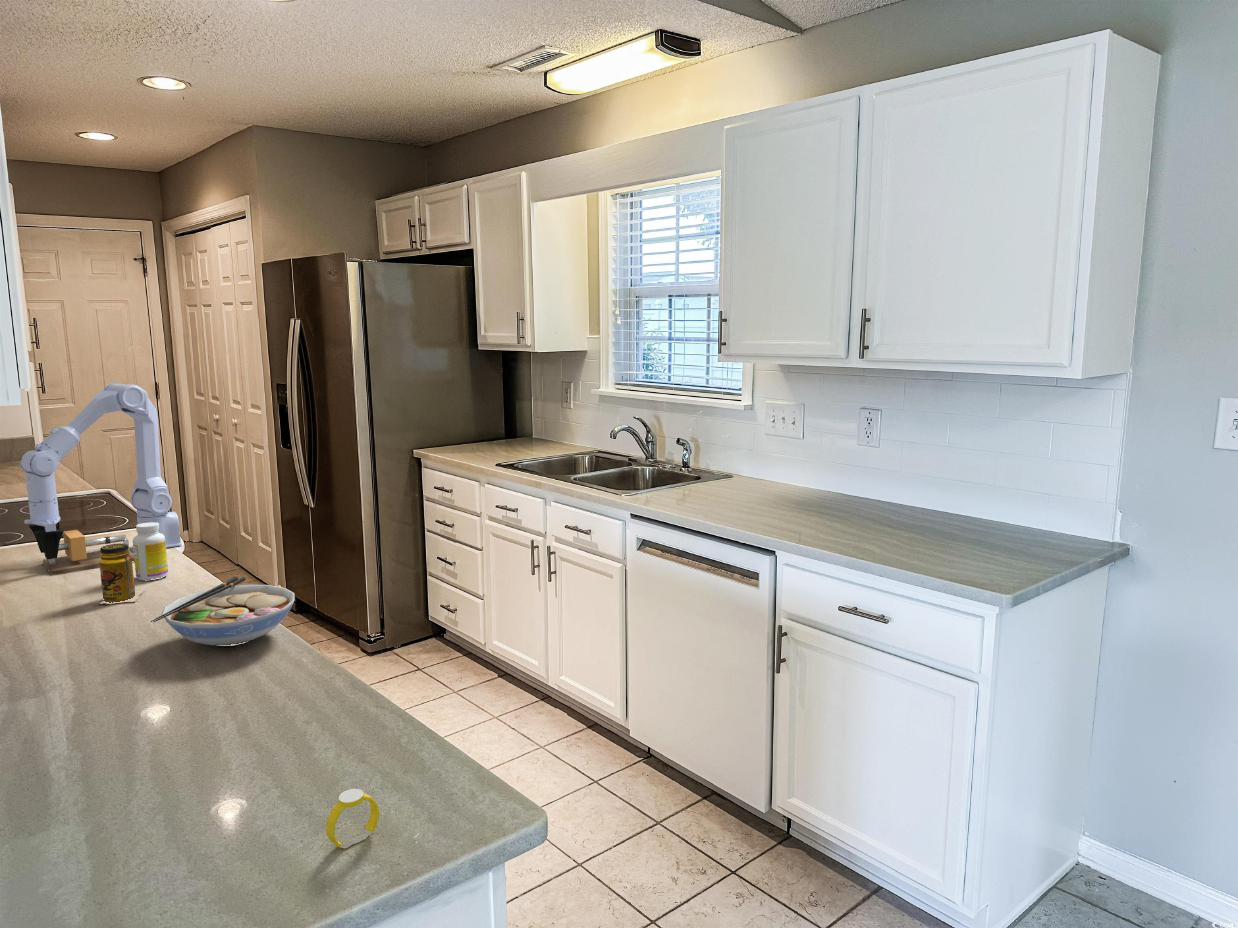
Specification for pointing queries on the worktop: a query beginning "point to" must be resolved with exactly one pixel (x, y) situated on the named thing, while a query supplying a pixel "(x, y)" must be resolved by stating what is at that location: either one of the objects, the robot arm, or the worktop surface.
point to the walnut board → (75, 563)
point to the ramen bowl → (229, 612)
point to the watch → (351, 800)
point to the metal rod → (95, 543)
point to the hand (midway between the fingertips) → (48, 555)
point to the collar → (75, 545)
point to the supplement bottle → (149, 552)
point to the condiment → (116, 573)
